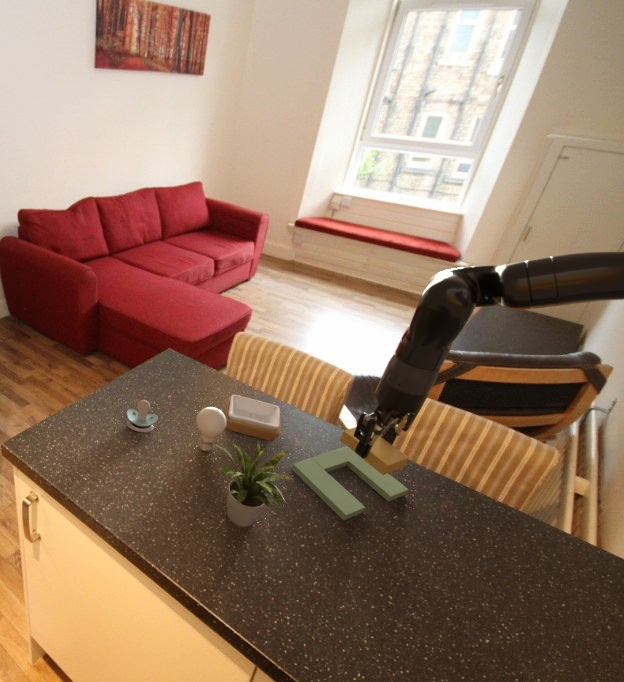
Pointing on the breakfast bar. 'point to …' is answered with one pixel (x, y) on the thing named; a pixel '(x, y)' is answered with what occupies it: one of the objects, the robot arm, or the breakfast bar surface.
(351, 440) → the ochre pad
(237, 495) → the house plant
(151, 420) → the pacifier
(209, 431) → the lightbulb
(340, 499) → the green u-shaped block
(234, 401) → the soap dish
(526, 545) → the breakfast bar surface
